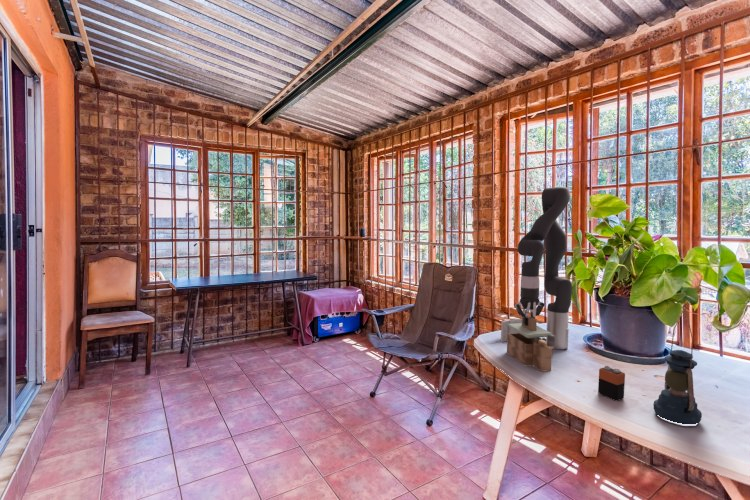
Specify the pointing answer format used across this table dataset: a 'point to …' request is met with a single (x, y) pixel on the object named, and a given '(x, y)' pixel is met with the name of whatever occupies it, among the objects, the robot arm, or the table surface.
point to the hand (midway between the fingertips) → (528, 325)
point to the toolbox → (529, 351)
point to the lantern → (678, 388)
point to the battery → (611, 383)
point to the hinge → (506, 328)
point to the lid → (529, 329)
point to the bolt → (548, 341)
